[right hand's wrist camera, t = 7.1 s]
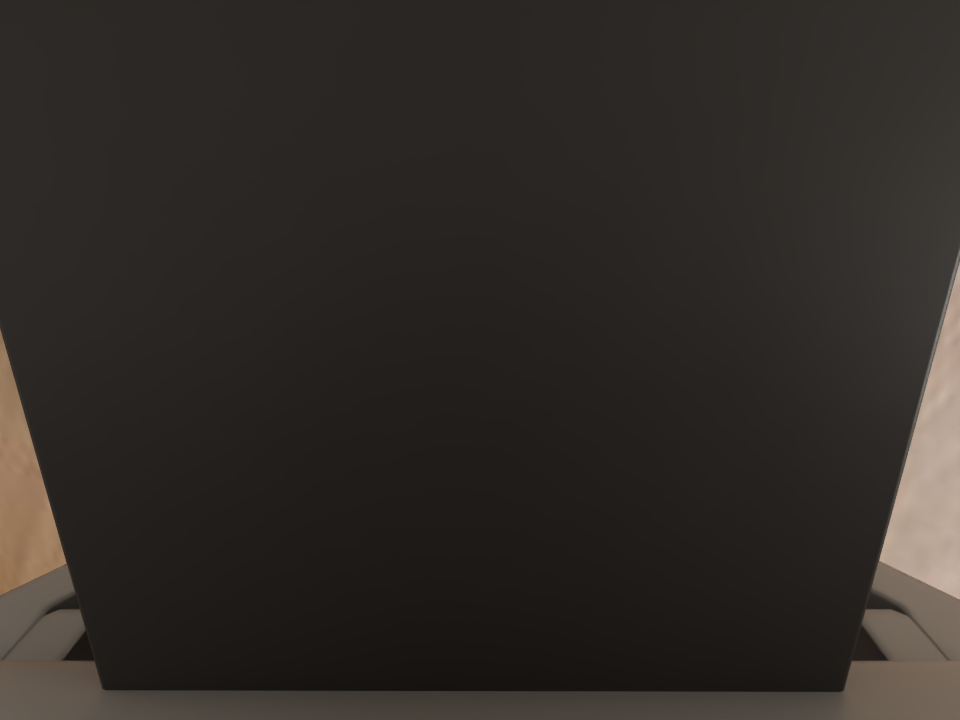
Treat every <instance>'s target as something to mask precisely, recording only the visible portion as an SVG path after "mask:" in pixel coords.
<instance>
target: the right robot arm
mask: <svg viewBox="0 0 960 720" xmlns="http://www.w3.org/2000/svg"><path fill="white" fill-rule="evenodd" d="M0 720H960V600H959V599H957V598H955V597H953V596H951V595H949V594H947V593H945V592H942V591H940V590H938V589H936V588H934V587H932V586H930V585H928V584H926V583H924V582H922V581H920V580H918V579H916V578H913V577H911V576H909V575H907V574H905V573H903V572H901V571H899V570H897V569H895V568H893V567H891V566H889V565H887V564H885V563H882V562H880V561H879V562H878V566H877V569H876V573H875V577H874V581H873V584H872V588H871V592H870V595H869V599H868V603H867V607H866V610H865V614H864V618H863V621H862V625H861V629H860V633H859V636H858V640H857V644H856V647H855V651H854V655H853V658H852V662H851V666H850V670H849V673H848V677H847V681H846V684H845V688H844V691H842V692H625V691H176V690H104V689H102V686H101V682H100V679H99V675H98V672H97V668H96V665H95V661H94V658H93V654H92V651H91V647H90V643H89V640H88V636H87V633H86V629H85V626H84V622H83V619H82V615H81V612H80V608H79V605H78V601H77V598H76V594H75V590H74V587H73V583H72V580H71V576H70V573H69V569H68V566H67V564H66V565H64V566H61V567H59V568H57V569H55V570H53V571H51V572H49V573H47V574H45V575H43V576H41V577H38V578H36V579H34V580H32V581H30V582H28V583H26V584H24V585H22V586H20V587H17V588H15V589H13V590H11V591H9V592H7V593H5V594H3V595H1V596H0Z"/></svg>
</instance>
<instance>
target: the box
mask: <svg viewBox="0 0 960 720" xmlns="http://www.w3.org/2000/svg"><path fill="white" fill-rule="evenodd" d="M959 262H960V0H0V329H1V332H2V336H3V340H4V343H5V347H6V350H7V354H8V357H9V361H10V364H11V368H12V371H13V375H14V378H15V382H16V385H17V389H18V393H19V396H20V400H21V403H22V407H23V410H24V414H25V417H26V421H27V424H28V428H29V431H30V435H31V438H32V442H33V446H34V449H35V453H36V456H37V460H38V463H39V467H40V470H41V474H42V477H43V481H44V484H45V488H46V492H47V495H48V499H49V502H50V506H51V509H52V513H53V516H54V520H55V523H56V527H57V530H58V534H59V537H60V541H61V545H62V548H63V552H64V555H65V559H66V562H67V566H68V569H69V573H70V576H71V580H72V583H73V587H74V590H75V594H76V598H77V601H78V605H79V608H80V612H81V615H82V619H83V622H84V626H85V629H86V633H87V636H88V640H89V643H90V647H91V651H92V654H93V658H94V661H95V665H96V668H97V672H98V675H99V679H100V682H101V686H102V689H104V690H176V691H625V692H842V691H844V688H845V684H846V681H847V677H848V673H849V670H850V666H851V662H852V658H853V655H854V651H855V647H856V644H857V640H858V636H859V633H860V629H861V625H862V621H863V618H864V614H865V610H866V607H867V603H868V599H869V595H870V592H871V588H872V584H873V581H874V577H875V573H876V569H877V566H878V562H879V558H880V555H881V551H882V547H883V544H884V540H885V536H886V532H887V529H888V525H889V521H890V518H891V514H892V510H893V506H894V503H895V499H896V495H897V492H898V488H899V484H900V480H901V477H902V473H903V469H904V466H905V462H906V458H907V454H908V451H909V447H910V443H911V440H912V436H913V432H914V429H915V425H916V421H917V417H918V414H919V410H920V406H921V403H922V399H923V395H924V391H925V388H926V384H927V380H928V377H929V373H930V369H931V365H932V362H933V358H934V354H935V351H936V347H937V343H938V340H939V336H940V332H941V328H942V325H943V321H944V317H945V314H946V310H947V306H948V302H949V299H950V295H951V291H952V288H953V284H954V280H955V276H956V273H957V269H958V265H959Z"/></svg>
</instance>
